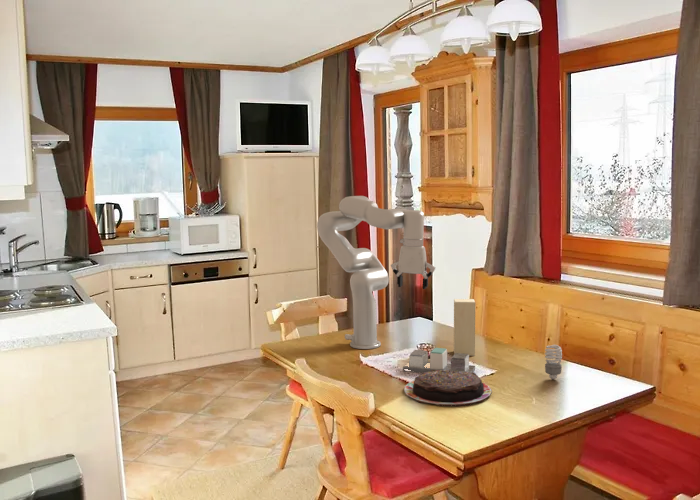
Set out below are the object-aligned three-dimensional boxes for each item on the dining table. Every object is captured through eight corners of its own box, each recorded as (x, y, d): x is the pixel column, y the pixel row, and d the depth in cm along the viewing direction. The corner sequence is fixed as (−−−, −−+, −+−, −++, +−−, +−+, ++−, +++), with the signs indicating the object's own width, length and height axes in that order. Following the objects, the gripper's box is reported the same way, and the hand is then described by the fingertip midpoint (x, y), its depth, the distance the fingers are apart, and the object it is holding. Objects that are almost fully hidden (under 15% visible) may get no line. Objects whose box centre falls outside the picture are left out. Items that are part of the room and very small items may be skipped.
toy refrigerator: (473, 350, 262) (473, 298, 259) (475, 355, 255) (475, 302, 252) (453, 350, 263) (453, 298, 260) (454, 355, 255) (454, 302, 253)
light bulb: (562, 377, 226) (562, 343, 224) (561, 382, 220) (562, 347, 219) (544, 376, 227) (545, 342, 226) (544, 381, 222) (544, 346, 221)
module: (430, 368, 235) (430, 352, 234) (434, 363, 241) (434, 347, 240) (442, 369, 233) (442, 353, 232) (447, 364, 239) (447, 348, 238)
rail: (403, 371, 237) (403, 354, 236) (410, 364, 245) (410, 348, 245) (470, 377, 228) (470, 360, 228) (475, 369, 237) (475, 353, 236)
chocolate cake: (401, 380, 228) (401, 361, 227) (483, 379, 227) (483, 360, 226) (406, 409, 200) (406, 388, 200) (499, 408, 199) (499, 387, 199)
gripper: (388, 243, 250) (387, 287, 253) (433, 245, 244) (431, 291, 246) (394, 240, 257) (394, 284, 260) (438, 243, 251) (437, 287, 253)
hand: (412, 287), depth 253 cm, fingers open, 9 cm apart
